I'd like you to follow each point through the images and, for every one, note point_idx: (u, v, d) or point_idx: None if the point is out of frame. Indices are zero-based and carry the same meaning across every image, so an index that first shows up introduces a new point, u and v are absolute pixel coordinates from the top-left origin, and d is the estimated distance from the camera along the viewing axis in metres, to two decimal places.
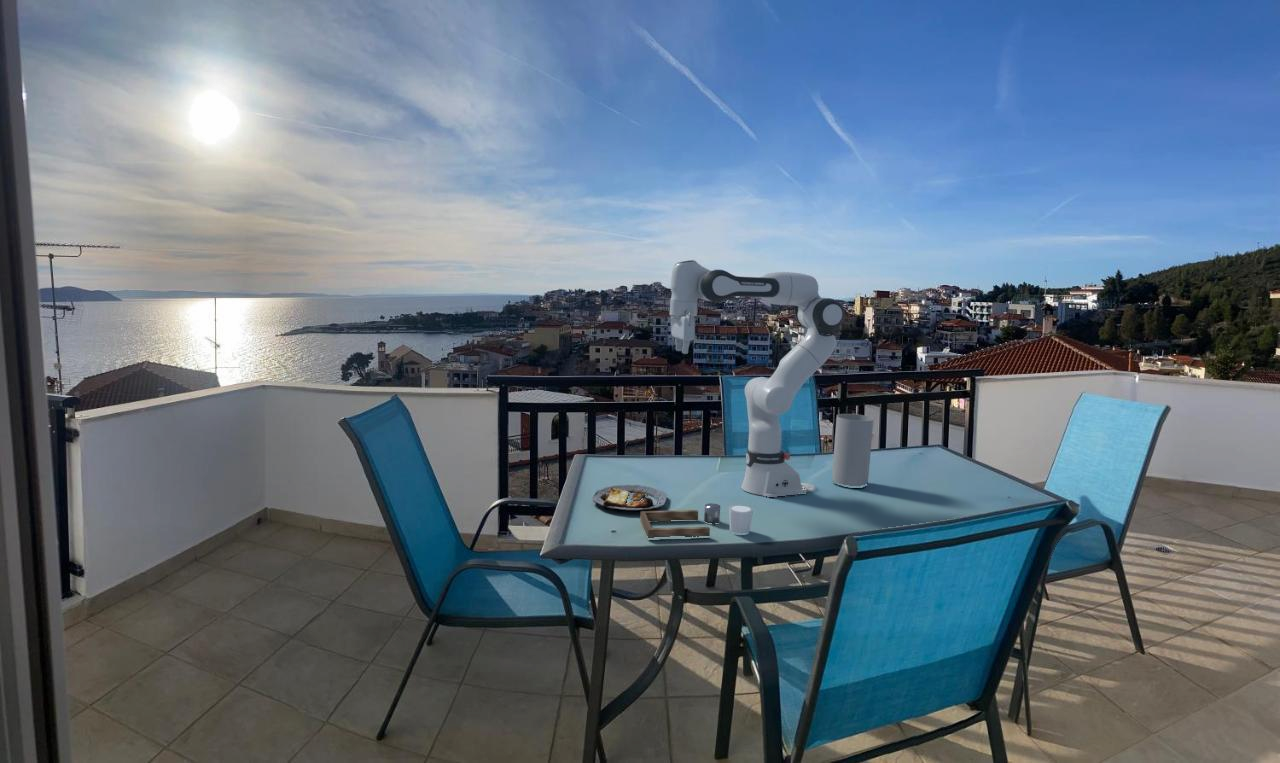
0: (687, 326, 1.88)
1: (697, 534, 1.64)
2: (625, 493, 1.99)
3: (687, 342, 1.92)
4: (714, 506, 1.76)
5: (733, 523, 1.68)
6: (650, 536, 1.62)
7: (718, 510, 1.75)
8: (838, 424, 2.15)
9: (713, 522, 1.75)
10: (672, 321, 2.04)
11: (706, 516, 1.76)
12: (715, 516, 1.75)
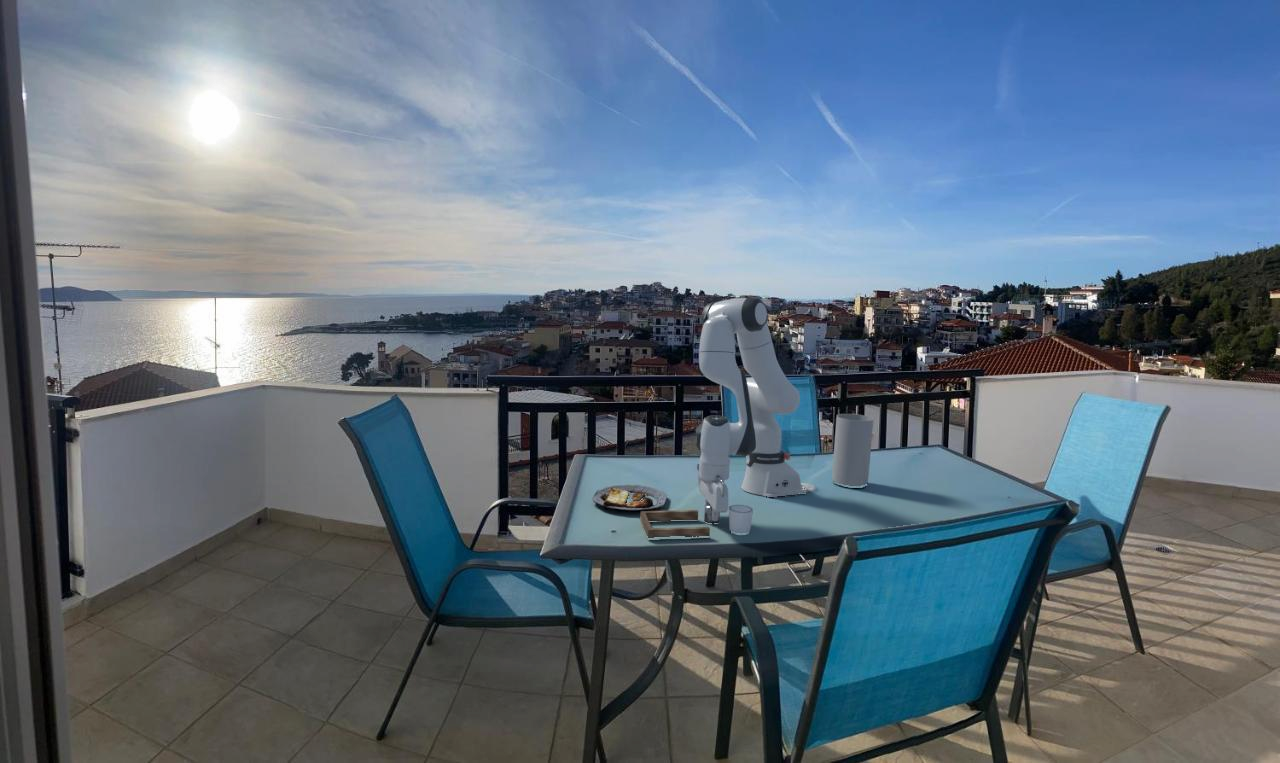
0: (720, 498, 1.66)
1: (697, 534, 1.64)
2: (625, 493, 1.99)
3: None
4: None
5: (733, 523, 1.68)
6: (650, 536, 1.62)
7: None
8: (838, 424, 2.15)
9: (713, 522, 1.75)
10: None
11: (706, 516, 1.76)
12: None
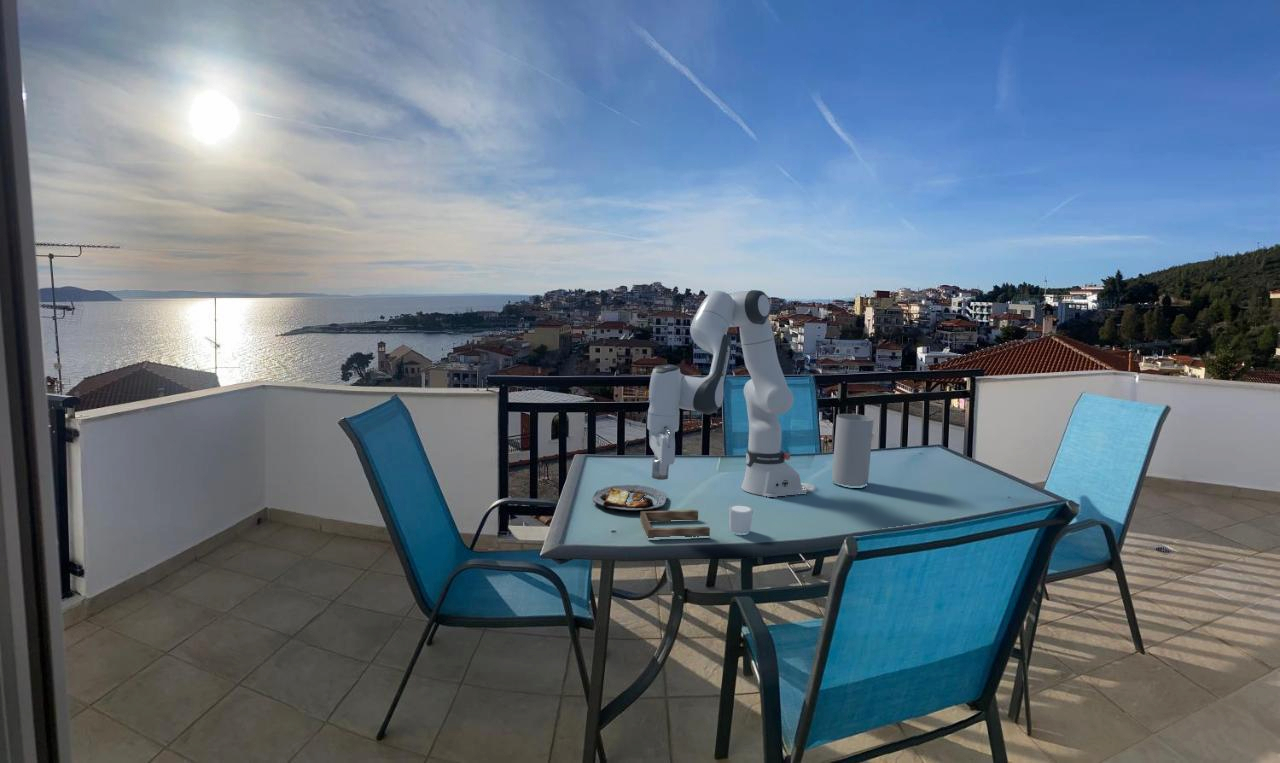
0: (666, 448, 1.57)
1: (697, 534, 1.64)
2: (625, 493, 1.99)
3: None
4: None
5: (733, 523, 1.68)
6: (650, 536, 1.62)
7: None
8: (838, 424, 2.15)
9: (661, 476, 1.66)
10: (651, 431, 1.74)
11: (654, 470, 1.66)
12: None
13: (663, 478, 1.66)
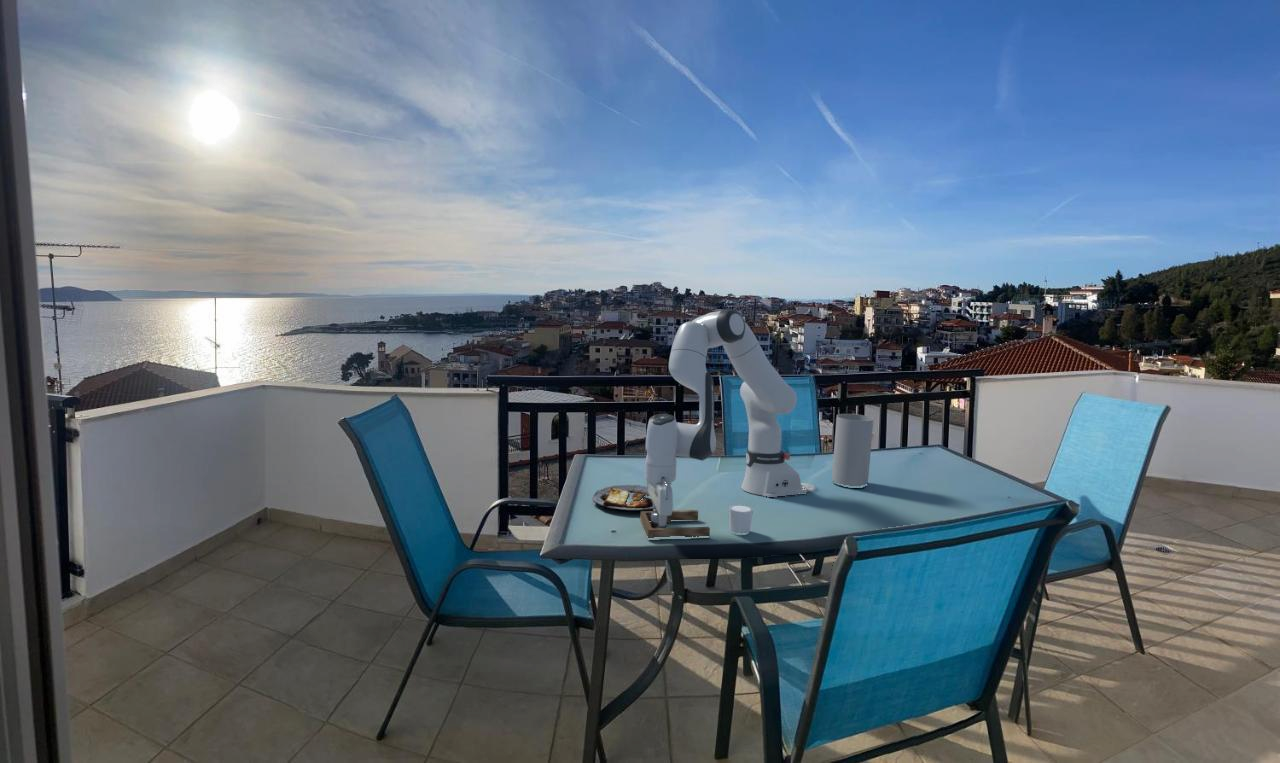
0: (664, 500, 1.59)
1: (697, 534, 1.64)
2: (625, 493, 1.99)
3: None
4: None
5: (733, 523, 1.68)
6: (650, 536, 1.62)
7: None
8: (838, 424, 2.15)
9: None
10: None
11: (652, 524, 1.68)
12: None
13: None
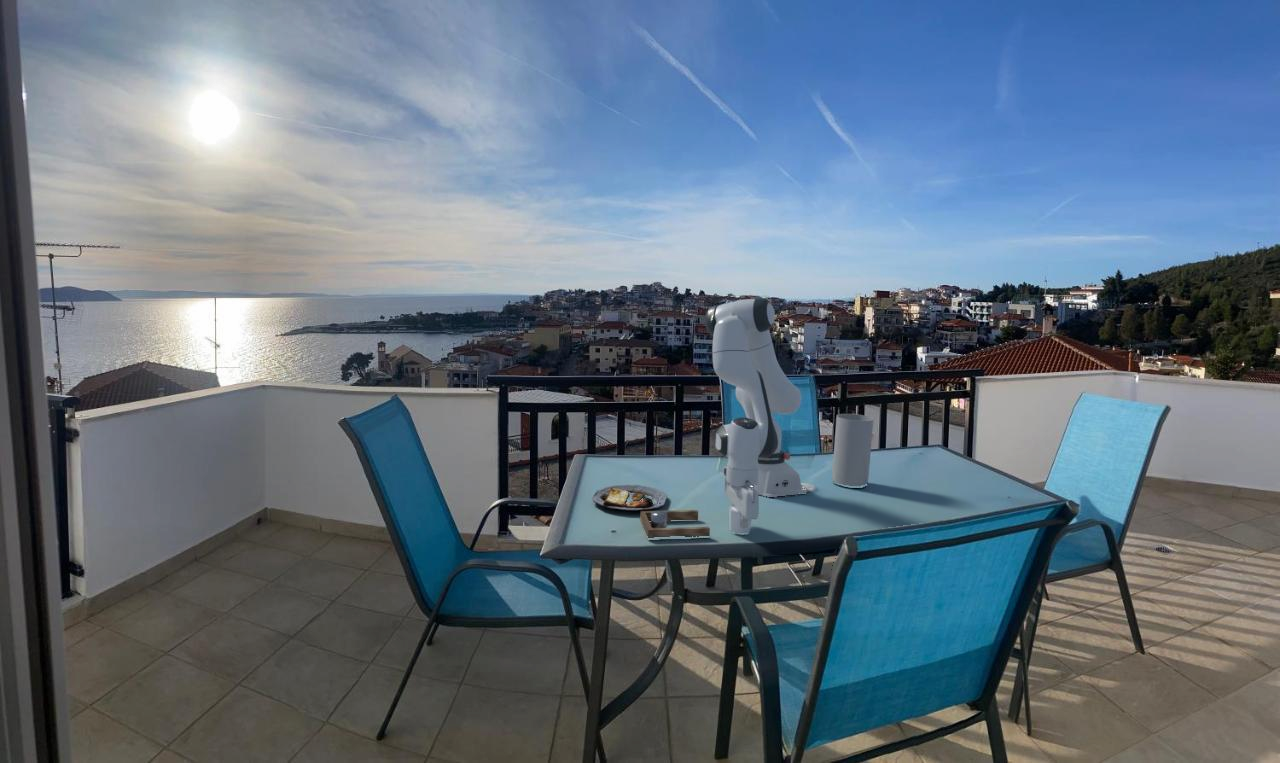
0: (750, 504, 1.59)
1: (697, 534, 1.64)
2: (625, 493, 1.99)
3: None
4: (661, 513, 1.69)
5: (733, 523, 1.68)
6: (650, 536, 1.62)
7: (664, 518, 1.68)
8: (838, 424, 2.15)
9: None
10: (727, 481, 1.76)
11: (652, 524, 1.68)
12: (662, 524, 1.68)
13: None
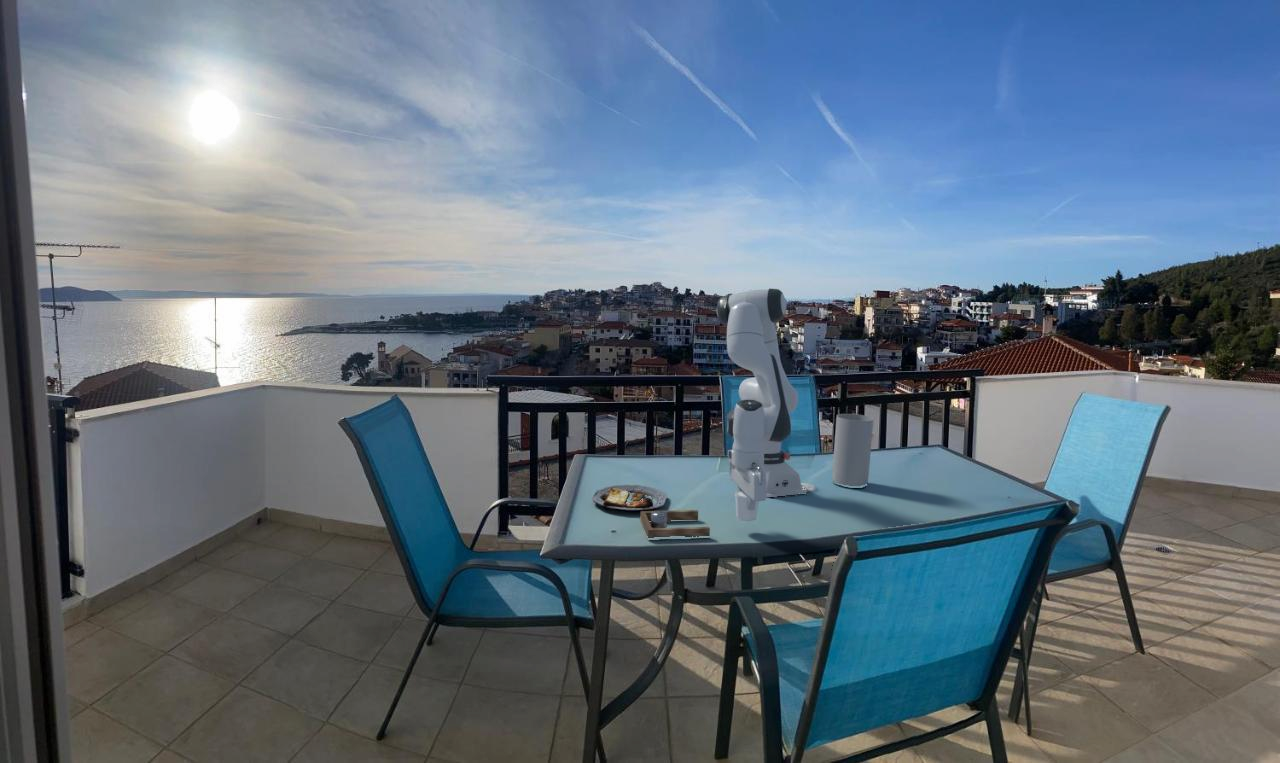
0: (758, 486, 1.59)
1: (697, 534, 1.64)
2: (625, 493, 1.99)
3: None
4: (661, 513, 1.69)
5: (740, 508, 1.67)
6: (650, 536, 1.62)
7: (664, 518, 1.68)
8: (838, 424, 2.15)
9: None
10: (732, 464, 1.75)
11: (652, 524, 1.68)
12: (662, 524, 1.68)
13: None
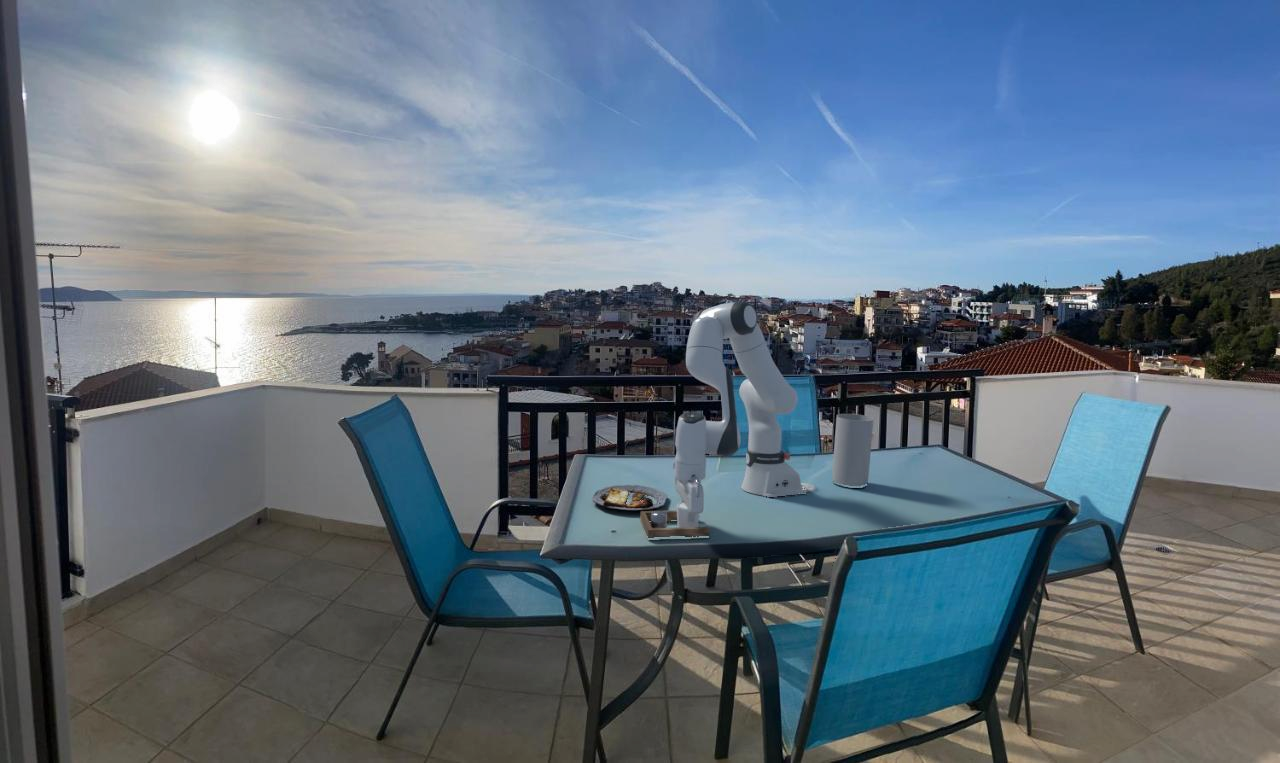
0: (695, 498, 1.60)
1: (697, 534, 1.64)
2: (625, 493, 1.99)
3: None
4: (661, 513, 1.69)
5: (680, 520, 1.69)
6: (650, 536, 1.62)
7: (664, 518, 1.68)
8: (838, 424, 2.15)
9: None
10: None
11: (652, 524, 1.68)
12: (662, 524, 1.68)
13: None
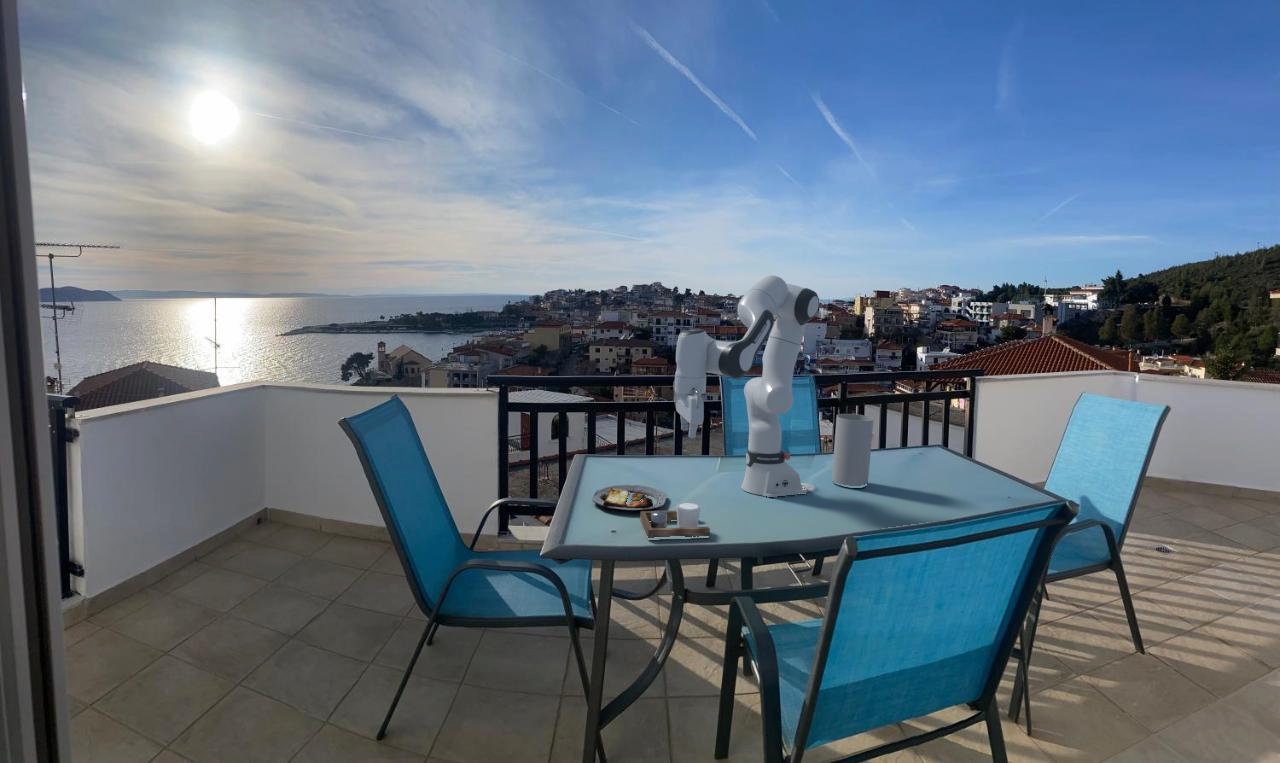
0: (695, 409, 1.61)
1: (697, 534, 1.64)
2: (625, 493, 1.99)
3: (695, 425, 1.65)
4: (661, 513, 1.69)
5: (680, 520, 1.69)
6: (650, 536, 1.62)
7: (664, 518, 1.68)
8: (838, 424, 2.15)
9: None
10: (677, 395, 1.77)
11: (652, 524, 1.68)
12: (662, 524, 1.68)
13: None
